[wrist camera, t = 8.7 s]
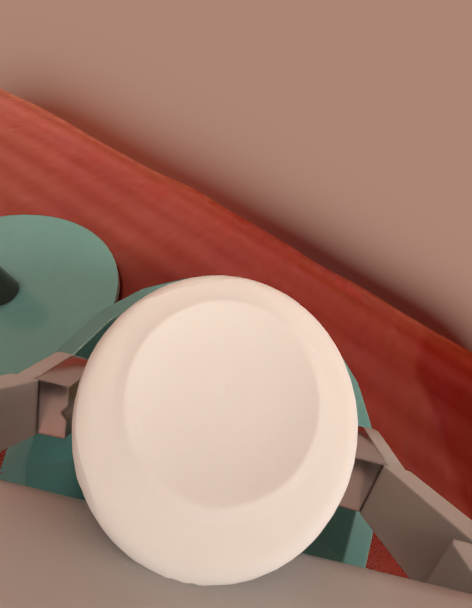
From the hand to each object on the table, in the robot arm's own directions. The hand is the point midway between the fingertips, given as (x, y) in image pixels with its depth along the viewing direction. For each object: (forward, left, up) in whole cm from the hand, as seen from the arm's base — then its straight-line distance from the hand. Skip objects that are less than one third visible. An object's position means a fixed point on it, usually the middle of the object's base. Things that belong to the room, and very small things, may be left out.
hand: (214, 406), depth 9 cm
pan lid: (-16, -6, -8) cm, 19 cm away
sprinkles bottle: (0, 0, -8) cm, 8 cm away
